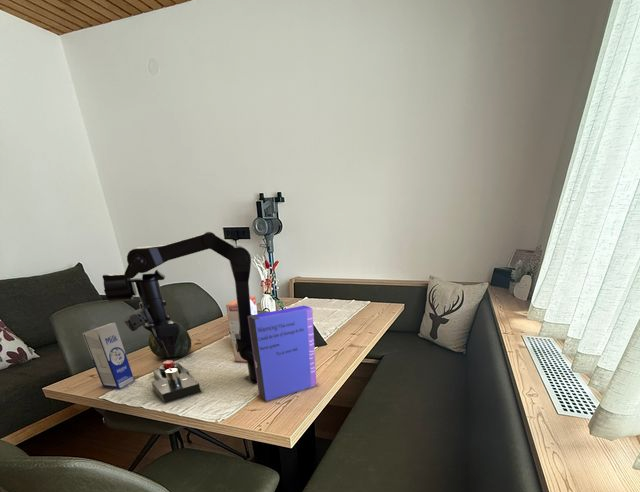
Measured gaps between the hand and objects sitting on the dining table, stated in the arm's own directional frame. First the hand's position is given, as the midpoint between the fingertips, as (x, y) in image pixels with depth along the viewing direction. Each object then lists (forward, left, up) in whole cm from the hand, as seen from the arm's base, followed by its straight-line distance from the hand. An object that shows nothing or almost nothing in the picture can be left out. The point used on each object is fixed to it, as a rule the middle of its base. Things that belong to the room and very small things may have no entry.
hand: (166, 352), depth 106 cm
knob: (0, 0, -10) cm, 10 cm away
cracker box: (+13, -32, -13) cm, 37 cm away
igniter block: (+13, -2, -13) cm, 18 cm away
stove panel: (0, 0, -13) cm, 13 cm away
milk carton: (+19, +13, -13) cm, 26 cm away
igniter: (+13, -2, -9) cm, 16 cm away
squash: (+34, -10, -13) cm, 38 cm away
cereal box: (-24, -26, -13) cm, 38 cm away
